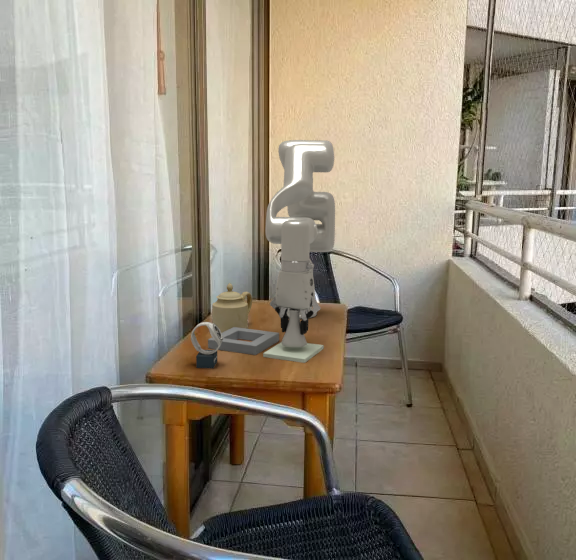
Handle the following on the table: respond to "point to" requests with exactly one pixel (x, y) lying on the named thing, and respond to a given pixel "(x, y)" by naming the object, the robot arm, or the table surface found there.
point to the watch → (207, 356)
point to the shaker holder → (258, 338)
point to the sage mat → (294, 352)
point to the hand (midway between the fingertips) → (294, 331)
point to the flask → (293, 331)
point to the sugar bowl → (231, 309)
